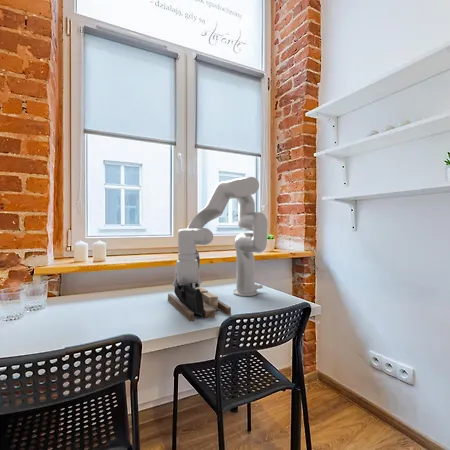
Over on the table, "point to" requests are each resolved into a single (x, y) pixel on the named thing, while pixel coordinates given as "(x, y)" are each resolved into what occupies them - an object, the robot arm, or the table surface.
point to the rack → (208, 310)
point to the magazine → (191, 299)
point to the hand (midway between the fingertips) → (187, 298)
